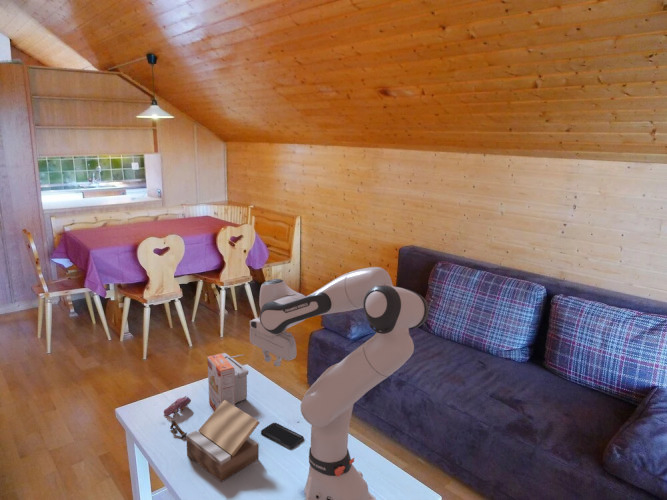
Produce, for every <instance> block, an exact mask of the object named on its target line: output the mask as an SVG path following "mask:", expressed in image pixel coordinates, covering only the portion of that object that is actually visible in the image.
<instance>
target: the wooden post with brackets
mask: <svg viewBox="0 0 667 500" xmlns="http://www.w3.org/2000/svg"><path fill="white" fill-rule="evenodd" d="M170 423H171V425H170V427H169V429H170V430H172V432H174V433H176V434H178V433H179V434H180V435H181V439H183V438H186V435H188V432H184V431H183V430H182V428H181V427H180V425H179V424H177V422H176V419H172V418H171V421H170Z"/></svg>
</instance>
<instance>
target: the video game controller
mask: <svg viewBox="0 0 667 500" xmlns="http://www.w3.org/2000/svg"><path fill="white" fill-rule="evenodd" d="M191 402H192V399H191V398H190V397H188V396H186V395H185V396H183V397H180V398H179V397H178V398H177V399H175V401H174V402H172V403H171V404H170V405H169V406H168V407H167V408H165V409H164V410H163V414H164V416H166V417H167V416H171V415H172V414H173V415H177V414H178V413H179V411H184V410H185V409H186V407H188V405H190V404H191Z"/></svg>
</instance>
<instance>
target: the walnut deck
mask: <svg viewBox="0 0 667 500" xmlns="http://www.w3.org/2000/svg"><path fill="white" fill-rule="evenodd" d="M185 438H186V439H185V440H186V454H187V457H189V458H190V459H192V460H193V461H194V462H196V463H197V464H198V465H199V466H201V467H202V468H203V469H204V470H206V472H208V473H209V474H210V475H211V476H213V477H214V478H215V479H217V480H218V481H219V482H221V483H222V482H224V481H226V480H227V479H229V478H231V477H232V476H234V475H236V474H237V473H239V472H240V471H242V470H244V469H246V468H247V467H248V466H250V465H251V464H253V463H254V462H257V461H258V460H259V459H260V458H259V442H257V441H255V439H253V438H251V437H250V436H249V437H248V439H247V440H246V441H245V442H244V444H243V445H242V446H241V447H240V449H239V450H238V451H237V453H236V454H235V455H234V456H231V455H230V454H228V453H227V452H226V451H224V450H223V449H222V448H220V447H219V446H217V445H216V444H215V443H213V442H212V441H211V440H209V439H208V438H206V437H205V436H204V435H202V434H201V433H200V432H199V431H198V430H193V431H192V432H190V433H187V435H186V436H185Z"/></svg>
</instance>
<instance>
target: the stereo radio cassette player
mask: <svg viewBox="0 0 667 500" xmlns="http://www.w3.org/2000/svg"><path fill="white" fill-rule="evenodd" d="M221 354H222V355H223V356H224V357H225V359H226V360H227V361H228V362H229V363H230V364H231V365H232V366H233V367H234V374H235V404H237V403H239V402H242V401H244V400H246V399H248V398H247V397H248V383H247V382H248V375H249V370H248V369H247V368H246V367H245V366H243V364H241V363H239V361H237V360H236V359H235V358H237V357H238V358H239V357H241V356H245V353H244V354H238V355H233V356H230V355H229V354H227V353H226V352H223V353H221Z"/></svg>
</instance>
